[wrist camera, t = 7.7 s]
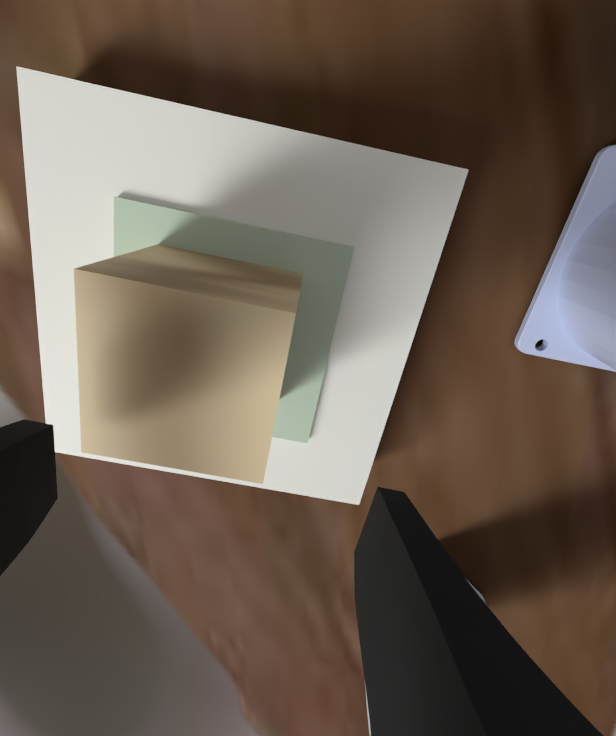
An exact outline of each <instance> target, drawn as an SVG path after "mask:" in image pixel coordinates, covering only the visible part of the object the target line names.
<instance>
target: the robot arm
mask: <svg viewBox="0 0 616 736" xmlns="http://www.w3.org/2000/svg"><path fill="white" fill-rule="evenodd" d="M542 339H543V343H542V345H541V346H539V347H538V348H535V344H536V343H537V342H538V341H539V340H542ZM514 343H515V346H516V348H517V349H518V350H520V351H521V352H523V353H526V354H531V355H536V356H541V357H546V358H551V359H556V360H560V361H565V362H570V363H575V364H580V365H585V366H590V367H595V368H600V369H605V370H610V371H615V372H616V145H611V146H607V147H605V148H603V149H601V150H600V151H599V152H598V153H597V155H596V156H595V158H594V160H593V162H592V165H591V167H590V169H589V171H588V174H587V176H586V178H585V180H584V183H583V185H582V187H581V190H580V192H579V194H578V196H577V199H576V201H575V203H574V206H573V208H572V210H571V212H570V215H569V217H568V219H567V222H566V224H565V226H564V228H563V231H562V233H561V235H560V237H559V240H558V242H557V244H556V247H555V249H554V251H553V253H552V256H551V258H550V260H549V263H548V265H547V267H546V269H545V272H544V274H543V276H542V279H541V281H540V283H539V285H538V288H537V290H536V292H535V294H534V297H533V299H532V301H531V304H530V306H529V308H528V310H527V313H526V315H525V317H524V320H523V322H522V324H521V326H520V329H519V331H518V333H517V336H516V338H515V342H514ZM57 498H58V497H57V483H56V464H55V447H54V431H53V425H51V424H45V423H40V422H35V421H30V420H21V421H19V422H15V423H12V424H9V425H6V426H3V427H1V428H0V576H1V574H2V573H3V572H4V571H5V570H6V568H7V567H8V566H9V565H10V564H11V563H12V561H13V560H14V559H15V558H16V557H17V555H18V554H19V553H20V552H21V551H22V549H23V548H24V547H25V545H26V544H27V543H28V542H29V540H30V539H31V537H32V536H33V535H34V533H35V532H36V530H37V529H38V527H39V526H40V524H41V523H42V522H43V520H44V518H45V517H46V515H47V514H48V512H49V511H50V509H51V507H52V506H53V504H54V503H55V501H56V500H57ZM354 579H355V604H356V613H357V621H358V630H359V638H360V646H361V654H362V662H363V670H364V678H365V686H366V694H367V702H368V710H369V718H370V728H371V736H603V735H602V734H601V733H600V732H599V731H598V730H597V729H596V728H595V727H594V726H593V725H592V724H591V723H590V722H589V721H588V720H587V719H586V718H585V717H584V716H583V715H582V714H581V712H580V711H579V710H578V709H577V708H576V707H575V706H574V705H573V704H572V703H571V702H570V701H569V700H568V699H567V698H566V697H565V696H564V694H563V693H562V692H561V691H560V690H559V689H558V688H557V687H556V686H555V684H554V683H553V682H552V681H551V680H550V679H549V678H548V677H547V676H546V675H545V673H544V672H543V671H542V670H541V669H540V668H539V667H538V666H537V665H536V663H535V662H534V661H533V660H532V659H531V658H530V657H529V656H528V655H527V653H526V652H525V651H524V650H523V649H522V648H521V646H520V645H519V644H518V643H517V642H516V641H515V639H514V638H513V637H512V636H511V635H510V634H509V632H508V631H507V630H506V629H505V627H504V626H503V625H502V624H501V622H500V621H499V620H498V619H497V617H496V616H495V615H494V614H493V613H492V611H491V610H490V609H489V608H488V606H487V605H486V604H485V603H484V601H483V600H482V599H481V598H480V596H479V595H478V594H477V592H476V591H475V590H474V589H473V587H472V586H471V585H470V583H469V582H468V581H467V579H466V578H465V577H464V575H463V574H462V573H461V571H460V570H459V569H458V567H457V566H456V565H455V563H454V562H453V561H452V559H451V558H450V556H449V555H448V554H447V552H446V551H445V550H444V548H443V547H442V545H441V544H440V543H439V541H438V540H437V538H436V537H435V535H434V534H433V533H432V531H431V530H430V528H429V527H428V525H427V524H426V523H425V521H424V520H423V518H422V517H421V515H420V514H419V512H418V511H417V510H416V508H415V507H414V505H413V504H412V502H411V501H410V500H409V498H408V497H407V495H406V494H405V493H404V492H401V491H396V490H391V489H386V488H380V487H378V488H377V491H376V493H375V496H374V499H373V502H372V504H371V507H370V510H369V513H368V515H367V518H366V521H365V524H364V527H363V529H362V532H361V535H360V538H359V540H358V543H357V546H356V549H355V551H354Z"/></svg>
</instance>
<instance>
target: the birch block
mask: <svg viewBox="0 0 616 736" xmlns="http://www.w3.org/2000/svg"><path fill="white" fill-rule="evenodd" d="M303 275H304V274H301V273H296V272H291V271H286V270H282V269H277V268H272V267H267V266H262V265H258V264H253V263H248V262H243V261H238V260H233V259H229V258H224V257H219V256H214V255H209V254H205V253H200V252H195V251H190V250H185V249H180V248H176V247H171V246H166V245H161V244H157V245H153V246H150V247H146V248H143V249H140V250H136V251H133V252H129V253H126V254H122V255H119V256H116V257H112V258H109V259H105V260H102V261H98V262H95V263H92V264H88V265H85V266H81V267H78V268H74V284H75V309H76V333H77V358H78V382H79V407H80V431H81V452H83V453H88V454H94V455H100V456H106V457H111V458H117V459H123V460H128V461H134V462H140V463H146V464H151V465H157V466H163V467H168V468H174V469H180V470H186V471H191V472H197V473H203V474H208V475H214V476H220V477H226V478H231V479H237V480H243V481H248V482H254V483H260V484H263V481H264V476H265V471H266V466H267V461H268V456H269V450H270V445H271V440H272V435H273V430H274V425H275V419H276V414H277V409H278V404H279V399H280V394H281V388H282V383H283V378H284V373H285V368H286V363H287V358H288V352H289V347H290V342H291V337H292V332H293V327H294V321H295V316H296V311H297V306H298V301H299V295H300V290H301V285H302V280H303Z"/></svg>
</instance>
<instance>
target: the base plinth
mask: <svg viewBox="0 0 616 736" xmlns="http://www.w3.org/2000/svg"><path fill="white" fill-rule="evenodd" d="M16 68H17V80H18V92H19V104H20V116H21V128H22V141H23V153H24V165H25V177H26V189H27V201H28V213H29V225H30V237H31V250H32V262H33V274H34V286H35V298H36V310H37V322H38V334H39V347H40V359H41V371H42V383H43V395H44V407H45V419H46V424H51V425H53V431H54V447H55V452H58V453H64V454H70V455H75V456H81V457H87V458H92V459H98V460H104V461H110V462H115V463H121V464H127V465H133V466H138V467H144V468H150V469H156V470H161V471H167V472H173V473H179V474H184V475H190V476H196V477H201V478H207V479H213V480H219V481H224V482H230V483H236V484H242V485H247V486H253V487H259V488H265V489H270V490H276V491H282V492H288V493H293V494H299V495H305V496H310V497H316V498H322V499H328V500H333V501H339V502H345V503H351V504H356V505H359V504H360V500H361V497H362V494H363V491H364V488H365V485H366V482H367V479H368V476H369V473H370V470H371V467H372V464H373V461H374V458H375V455H376V452H377V449H378V446H379V442H380V439H381V436H382V433H383V430H384V427H385V424H386V421H387V418H388V415H389V412H390V409H391V406H392V403H393V400H394V397H395V394H396V391H397V387H398V384H399V381H400V378H401V375H402V372H403V369H404V366H405V363H406V360H407V357H408V354H409V351H410V348H411V345H412V342H413V339H414V336H415V333H416V329H417V326H418V323H419V320H420V317H421V314H422V311H423V308H424V305H425V302H426V299H427V296H428V293H429V290H430V287H431V284H432V281H433V278H434V274H435V271H436V268H437V265H438V262H439V259H440V256H441V253H442V250H443V247H444V244H445V241H446V238H447V235H448V232H449V229H450V226H451V223H452V219H453V216H454V213H455V210H456V207H457V204H458V201H459V198H460V195H461V192H462V189H463V186H464V183H465V180H466V177H467V174H468V171H469V170H468V169H464V168H459V167H455V166H451V165H446V164H442V163H438V162H433V161H429V160H424V159H420V158H416V157H411V156H407V155H402V154H398V153H394V152H389V151H385V150H381V149H376V148H372V147H367V146H363V145H359V144H354V143H350V142H346V141H341V140H337V139H332V138H328V137H324V136H319V135H315V134H310V133H306V132H302V131H297V130H293V129H289V128H284V127H280V126H275V125H271V124H267V123H262V122H258V121H254V120H249V119H245V118H240V117H236V116H232V115H227V114H223V113H218V112H214V111H210V110H205V109H201V108H197V107H192V106H188V105H183V104H179V103H175V102H170V101H166V100H162V99H157V98H153V97H148V96H144V95H140V94H135V93H131V92H126V91H122V90H118V89H113V88H109V87H105V86H100V85H96V84H91V83H87V82H83V81H78V80H74V79H70V78H65V77H61V76H56V75H52V74H48V73H43V72H39V71H34V70H30V69H26V68H21V67H17V66H16ZM157 244H161V245H166V246H171V247H176V248H180V249H185V250H190V251H195V252H200V253H205V254H209V255H214V256H219V257H224V258H229V259H233V260H238V261H243V262H248V263H253V264H258V265H262V266H267V267H272V268H277V269H282V270H286V271H291V272H296V273H301V274H304V275H303V280H302V285H301V290H300V295H299V301H298V306H297V311H296V316H295V321H294V327H293V332H292V337H291V342H290V347H289V352H288V358H287V363H286V368H285V373H284V378H283V383H282V388H281V394H280V399H279V404H278V409H277V414H276V419H275V425H274V430H273V435H272V440H271V445H270V450H269V456H268V461H267V466H266V471H265V476H264V481H263V484H260V483H254V482H248V481H243V480H237V479H231V478H226V477H220V476H214V475H208V474H203V473H197V472H191V471H186V470H180V469H174V468H168V467H163V466H157V465H151V464H146V463H140V462H134V461H128V460H123V459H117V458H111V457H106V456H100V455H94V454H88V453H83V452H81V431H80V407H79V382H78V358H77V333H76V309H75V284H74V268H78V267H81V266H85V265H88V264H92V263H95V262H98V261H102V260H105V259H109V258H112V257H116V256H119V255H122V254H126V253H129V252H133V251H136V250H140V249H143V248H146V247H150V246H153V245H157Z"/></svg>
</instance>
